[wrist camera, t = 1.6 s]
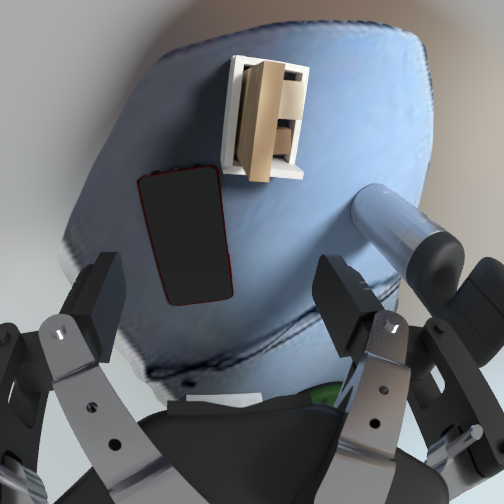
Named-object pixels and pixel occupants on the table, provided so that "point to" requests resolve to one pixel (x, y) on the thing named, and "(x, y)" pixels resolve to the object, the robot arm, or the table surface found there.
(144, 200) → the smartphone
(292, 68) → the rack
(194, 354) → the table surface
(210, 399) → the skincare box
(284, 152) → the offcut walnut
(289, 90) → the offcut maple
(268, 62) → the tan rectangular block
